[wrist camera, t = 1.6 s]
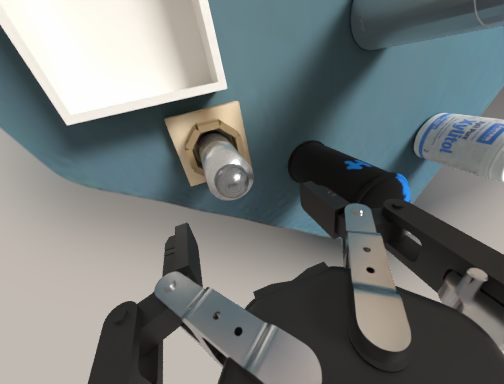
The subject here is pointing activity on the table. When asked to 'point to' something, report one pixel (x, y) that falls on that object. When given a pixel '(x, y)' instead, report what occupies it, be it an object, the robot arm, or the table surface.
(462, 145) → the supplement tub
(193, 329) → the robot arm
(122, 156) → the table surface
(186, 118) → the socket base
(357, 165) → the aerosol can
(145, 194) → the table surface
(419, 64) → the table surface
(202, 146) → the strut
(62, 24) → the bin
